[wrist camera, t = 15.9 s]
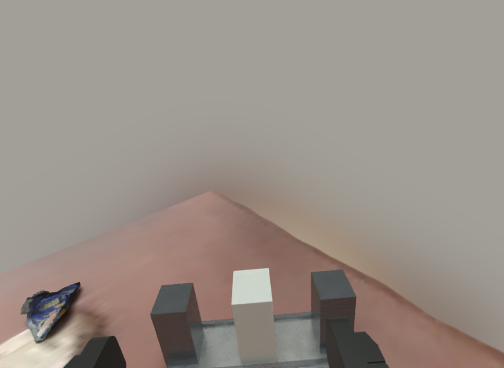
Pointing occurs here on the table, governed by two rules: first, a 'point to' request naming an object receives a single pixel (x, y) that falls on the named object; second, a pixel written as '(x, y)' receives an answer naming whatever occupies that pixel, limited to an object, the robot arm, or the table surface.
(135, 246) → the table surface
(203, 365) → the rail
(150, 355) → the table surface
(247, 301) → the block
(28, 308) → the snack package
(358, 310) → the table surface
